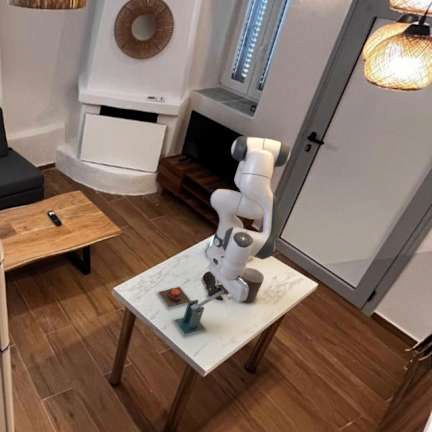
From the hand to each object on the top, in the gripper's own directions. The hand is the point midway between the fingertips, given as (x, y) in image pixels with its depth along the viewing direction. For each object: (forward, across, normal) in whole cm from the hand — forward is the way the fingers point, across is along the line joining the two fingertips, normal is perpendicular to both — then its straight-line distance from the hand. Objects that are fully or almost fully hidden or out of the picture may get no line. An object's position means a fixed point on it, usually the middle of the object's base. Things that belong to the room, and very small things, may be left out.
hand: (222, 292), depth 167 cm
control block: (+18, +16, +10) cm, 26 cm away
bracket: (+18, 0, +12) cm, 21 cm away
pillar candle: (+18, +8, -23) cm, 30 cm away
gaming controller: (+18, +13, -10) cm, 24 cm away
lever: (+4, 0, +6) cm, 7 cm away
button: (+15, +16, +10) cm, 24 cm away
